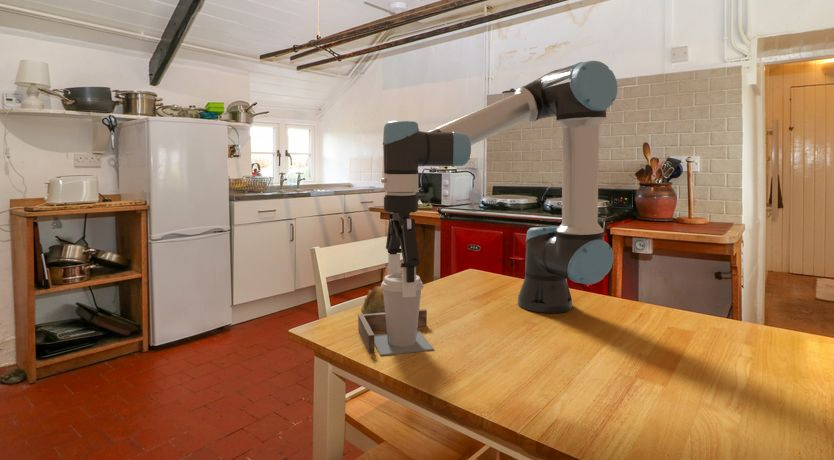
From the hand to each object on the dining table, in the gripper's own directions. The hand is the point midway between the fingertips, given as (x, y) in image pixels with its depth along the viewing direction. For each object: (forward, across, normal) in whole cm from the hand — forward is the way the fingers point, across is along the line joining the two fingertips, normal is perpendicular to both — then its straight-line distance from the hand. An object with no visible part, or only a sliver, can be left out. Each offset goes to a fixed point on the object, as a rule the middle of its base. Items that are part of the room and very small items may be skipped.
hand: (401, 288), depth 107 cm
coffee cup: (+13, 0, 0) cm, 13 cm away
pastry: (+13, -22, +1) cm, 25 cm away
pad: (+13, 0, 0) cm, 13 cm away
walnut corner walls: (+13, -3, 0) cm, 13 cm away
